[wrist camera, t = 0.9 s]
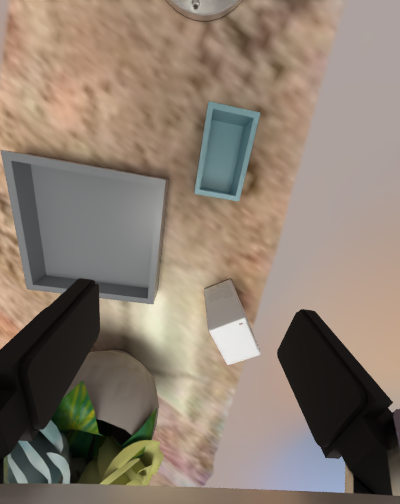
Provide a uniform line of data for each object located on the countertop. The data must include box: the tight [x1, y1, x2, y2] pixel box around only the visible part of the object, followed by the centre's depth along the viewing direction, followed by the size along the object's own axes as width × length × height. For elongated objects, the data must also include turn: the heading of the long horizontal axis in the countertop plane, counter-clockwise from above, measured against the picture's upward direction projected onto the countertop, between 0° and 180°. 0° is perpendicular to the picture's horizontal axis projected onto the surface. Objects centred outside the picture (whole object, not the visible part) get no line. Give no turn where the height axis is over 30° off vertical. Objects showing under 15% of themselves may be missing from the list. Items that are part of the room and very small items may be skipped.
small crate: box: [194, 101, 260, 201], centre depth 26 cm, size 10×6×5 cm, turn 170°
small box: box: [204, 279, 261, 365], centre depth 32 cm, size 8×6×10 cm
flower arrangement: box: [8, 349, 164, 486], centre depth 31 cm, size 25×25×24 cm
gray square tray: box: [1, 150, 169, 304], centre depth 30 cm, size 20×20×4 cm
